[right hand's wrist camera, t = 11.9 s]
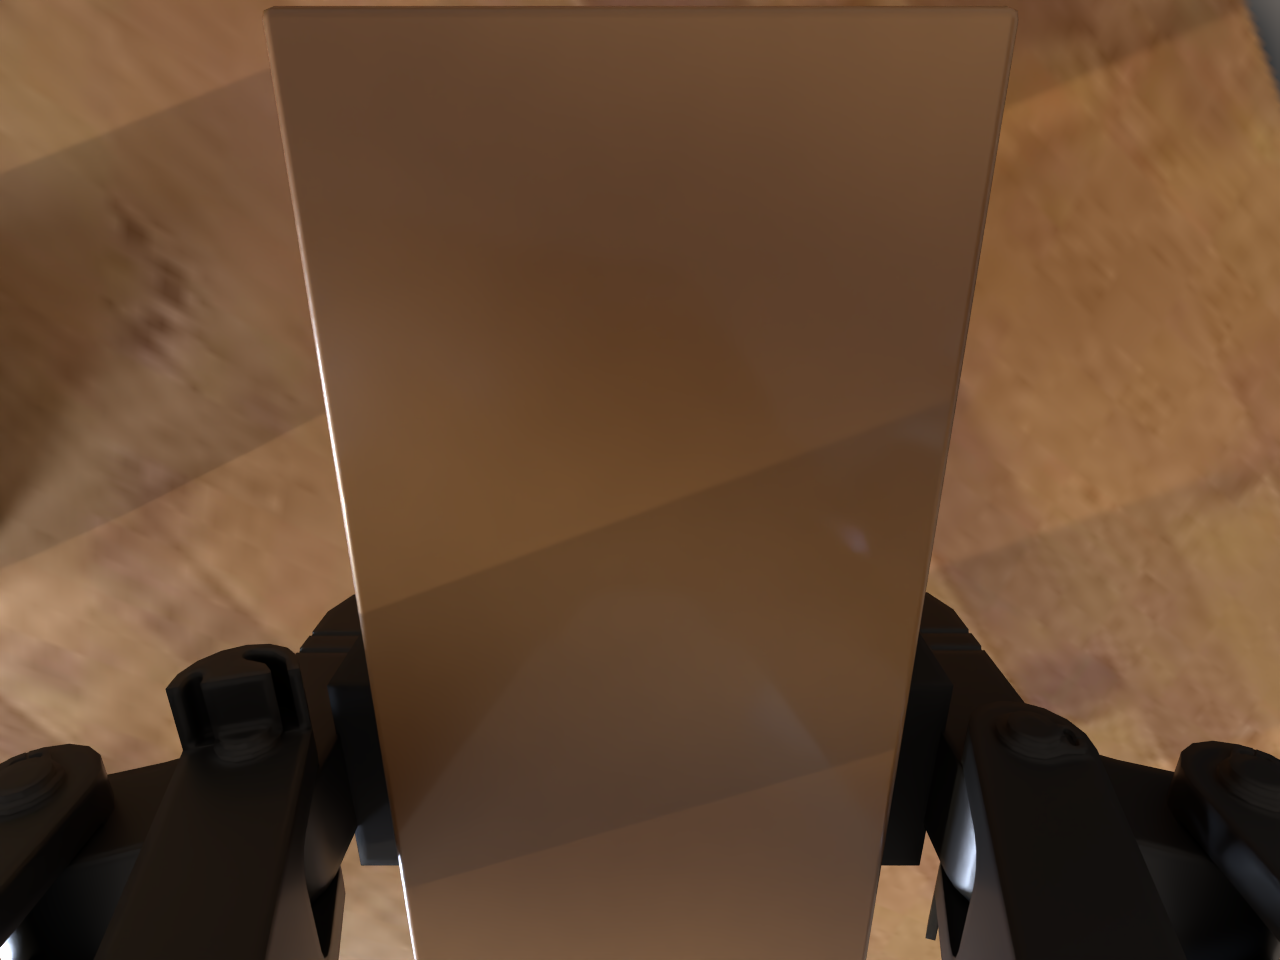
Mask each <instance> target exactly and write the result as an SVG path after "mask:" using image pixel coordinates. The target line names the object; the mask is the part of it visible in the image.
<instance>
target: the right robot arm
mask: <svg viewBox="0 0 1280 960" xmlns="http://www.w3.org/2000/svg"><path fill="white" fill-rule="evenodd" d="M166 693H167V696H168V700H169V703H170V707H171V710H172V714H173V717H174V720H175V724H176V727H177V731H178V734H179V738H180V741H181V745H182V748H183V752H182V754H181V757H180V758H179V759H175V760H172V761H168V762H165V763H160V764H156V765H151V766H146V767H142V768H137V769H132V770H128V771H123V772H119V773H114V774H109V775H107V773H106V770H105V767H104V764H103V761H102V758H101V755H100V754H99V753H97V752H96V751H95V750H93V749H92V748H91V747H89V746H83V745H75V744H64V745H57V746H50V747H43V748H40V749H36V750H33V751H29V752H28V753H23V754H20V755H18V756H15V757H12V758H10V759H8V760H7V761H5V762H3V763H1V764H0V957H1V959H2V960H338V959H339V950H340V940H341V931H342V921H343V912H344V902H345V888H344V881H343V875H342V870H341V865H340V864H341V862H342V860H343V858H344V856H345V853H346V851H347V849H348V847H349V844H350V842H351V840H352V838H353V836H354V833H355V836H356V841H357V846H358V852H359V857H360V862H361V865H399V860H398V854H397V847H396V841H395V835H394V829H393V823H392V817H391V810H390V804H389V798H388V792H387V786H386V780H385V773H384V767H383V761H382V755H381V749H380V742H379V736H378V730H377V724H376V718H375V712H374V705H373V699H372V693H371V687H370V681H369V675H368V668H367V662H366V656H365V650H364V644H363V637H362V631H361V625H360V619H359V613H358V607H357V600H356V595H352V596H351V597H349V598H348V599H346V600H345V601H343V602H342V603H340V604H339V605H337V606H336V607H334V608H333V609H331V610H330V611H328V612H327V613H326V615H325V616H324V617H323V619H322V620H321V621H320V623H319V624H318V625H317V627H316V628H315V629H314V631H313V634H312V636H309V637H308V638H307V640H306V641H305V642H304V644H303V645H302V646H301V648H300V653H296V654H295V653H293V652H292V651H291V650H290V649H288V648H286V647H282V646H277V645H272V644H257V645H244V646H240V647H236V648H232V649H227V650H223V651H220V652H218V653H215V654H213V655H211V656H208V657H206V658H203V659H201V660H199V661H197V662H195V663H194V664H192V665H191V666H189V667H188V668H186V669H185V670H183V671H182V672H180V673H179V674H178V675H177V676H176V677H175V678H174V679H173V681H172V682H171V683H170V684H169V685H168V686H167V688H166ZM926 831H927V833H928V835H929V837H930V840H931V842H932V844H933V846H934V848H935V851H936V853H937V855H938V857H939V859H940V865H939V870H938V875H937V880H936V885H935V890H934V895H933V900H932V905H931V910H930V915H929V920H928V925H927V932H926V938H927V939H931V940H935V939H936V935H937V930H938V929H939V938H940V948H941V957H942V960H1280V760H1279V759H1277V758H1275V757H1274V756H1272V755H1270V754H1267V753H1265V752H1262V751H1259V750H1257V749H1256V750H1254V749H1253V748H1250V747H1246V746H1242V745H1239V744H1232V743H1225V742H1218V741H1207V742H1199V743H1192V744H1191V745H1190V746H1188V747H1187V748H1186V749H1185V750H1183V751H1182V752H1181V754H1180V757H1179V760H1178V763H1177V766H1176V769H1175V772H1172V771H1167V770H1162V769H1158V768H1153V767H1148V766H1144V765H1139V764H1135V763H1130V762H1125V761H1121V760H1116V759H1113V758H1109V757H1105V756H1102V755H1099V753H1098V751H1097V749H1096V748H1095V746H1094V745H1093V743H1092V742H1091V741H1090V739H1089V738H1088V736H1087V735H1086V734H1085V733H1084V732H1083V731H1081V730H1080V729H1079V728H1077V727H1076V726H1075V725H1074V724H1072V723H1071V722H1070V721H1068V720H1067V719H1065V718H1063V717H1061V716H1059V715H1057V714H1055V713H1053V712H1051V711H1048V710H1046V709H1044V708H1041V707H1037V706H1033V705H1030V704H1026V703H1024V701H1023V700H1022V699H1021V697H1020V696H1019V695H1018V694H1017V692H1016V691H1015V690H1014V688H1013V687H1012V686H1011V684H1010V683H1009V682H1008V680H1007V679H1006V678H1005V677H1004V675H1003V674H1002V673H1001V671H1000V670H999V669H998V667H997V666H996V665H995V663H994V662H993V661H992V659H991V658H990V657H989V656H988V654H987V653H986V652H985V650H981V645H980V644H979V642H978V641H977V640H976V639H975V637H974V636H973V635H972V633H969V632H968V628H967V627H966V625H965V624H964V623H963V622H962V620H961V619H960V618H959V616H958V615H957V614H956V612H955V611H954V610H953V609H952V608H950V607H949V606H947V605H946V604H944V603H943V602H941V601H940V600H938V599H937V598H935V597H934V596H932V595H931V594H929V593H927V592H925V598H924V604H923V611H922V617H921V623H920V629H919V635H918V641H917V648H916V654H915V660H914V666H913V672H912V678H911V685H910V691H909V697H908V703H907V709H906V715H905V722H904V728H903V734H902V740H901V746H900V752H899V759H898V765H897V771H896V777H895V783H894V789H893V796H892V802H891V808H890V814H889V820H888V826H887V833H886V839H885V845H884V851H883V857H882V863H881V865H920V860H921V855H922V849H923V844H924V839H925V833H926Z"/></svg>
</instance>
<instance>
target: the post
mask: <svg viewBox="0 0 1280 960" xmlns="http://www.w3.org/2000/svg"><path fill="white" fill-rule="evenodd" d="M262 20H263V26H264V32H265V39H266V45H267V51H268V57H269V63H270V69H271V76H272V82H273V88H274V94H275V100H276V107H277V113H278V119H279V125H280V131H281V137H282V144H283V150H284V156H285V162H286V168H287V174H288V181H289V187H290V193H291V199H292V205H293V211H294V218H295V224H296V230H297V236H298V242H299V249H300V255H301V261H302V267H303V273H304V279H305V286H306V292H307V298H308V304H309V310H310V316H311V323H312V329H313V335H314V341H315V347H316V353H317V360H318V366H319V372H320V378H321V384H322V391H323V397H324V403H325V409H326V415H327V421H328V428H329V434H330V440H331V446H332V452H333V458H334V465H335V471H336V477H337V483H338V489H339V495H340V502H341V508H342V514H343V520H344V526H345V533H346V539H347V545H348V551H349V557H350V563H351V570H352V576H353V582H354V588H355V594H356V600H357V607H358V613H359V619H360V625H361V631H362V637H363V644H364V650H365V656H366V662H367V668H368V675H369V681H370V687H371V693H372V699H373V705H374V712H375V718H376V724H377V730H378V736H379V742H380V749H381V755H382V761H383V767H384V773H385V780H386V786H387V792H388V798H389V804H390V810H391V817H392V823H393V829H394V835H395V841H396V847H397V854H398V860H399V866H400V872H401V878H402V884H403V891H404V897H405V903H406V909H407V915H408V922H409V928H410V934H411V940H412V946H413V952H414V959H415V960H866V956H867V950H868V944H869V937H870V931H871V925H872V919H873V913H874V907H875V900H876V894H877V888H878V882H879V876H880V870H881V863H882V857H883V851H884V845H885V839H886V833H887V826H888V820H889V814H890V808H891V802H892V796H893V789H894V783H895V777H896V771H897V765H898V759H899V752H900V746H901V740H902V734H903V728H904V722H905V715H906V709H907V703H908V697H909V691H910V685H911V678H912V672H913V666H914V660H915V654H916V648H917V641H918V635H919V629H920V623H921V617H922V611H923V604H924V598H925V592H926V586H927V580H928V574H929V567H930V561H931V555H932V549H933V543H934V537H935V530H936V524H937V518H938V512H939V506H940V500H941V493H942V487H943V481H944V475H945V469H946V463H947V456H948V450H949V444H950V438H951V432H952V426H953V419H954V413H955V407H956V401H957V395H958V389H959V382H960V376H961V370H962V364H963V358H964V352H965V345H966V339H967V333H968V327H969V321H970V315H971V308H972V302H973V296H974V290H975V284H976V278H977V271H978V265H979V259H980V253H981V247H982V241H983V234H984V228H985V222H986V216H987V210H988V204H989V197H990V191H991V185H992V179H993V173H994V167H995V160H996V154H997V148H998V142H999V136H1000V130H1001V123H1002V117H1003V111H1004V105H1005V99H1006V93H1007V86H1008V80H1009V74H1010V68H1011V62H1012V55H1013V49H1014V43H1015V37H1016V31H1017V25H1018V13H1017V10H1015V9H1012V8H1010V7H1008V6H273V7H271V8H269V9H267V10H264V11H263V19H262Z"/></svg>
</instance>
